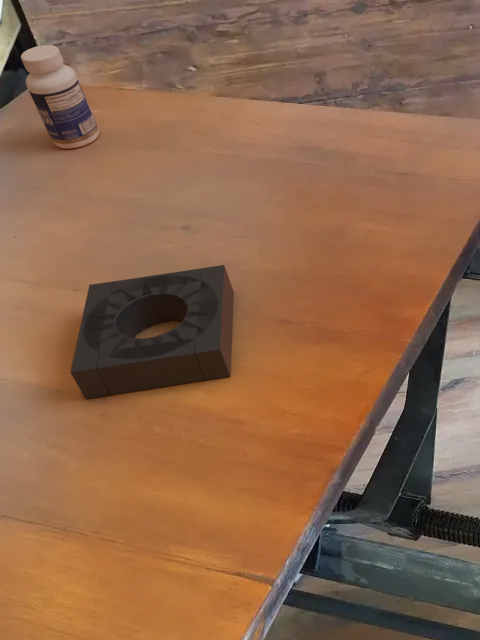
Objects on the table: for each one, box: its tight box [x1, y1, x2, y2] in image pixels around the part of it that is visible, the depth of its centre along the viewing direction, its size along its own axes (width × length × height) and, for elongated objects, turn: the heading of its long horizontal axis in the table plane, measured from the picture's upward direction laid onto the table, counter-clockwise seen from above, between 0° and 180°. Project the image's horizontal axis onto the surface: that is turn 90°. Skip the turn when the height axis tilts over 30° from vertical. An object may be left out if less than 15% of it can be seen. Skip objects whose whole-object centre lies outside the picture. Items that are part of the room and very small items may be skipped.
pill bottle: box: [20, 44, 100, 149], centre depth 100 cm, size 5×5×10 cm
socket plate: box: [70, 264, 235, 400], centre depth 77 cm, size 12×12×3 cm
